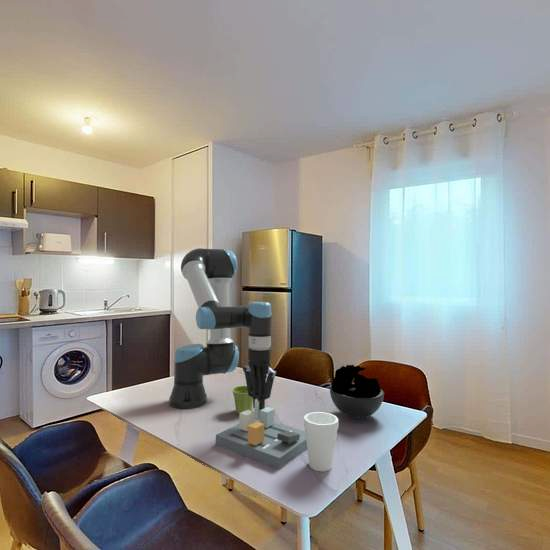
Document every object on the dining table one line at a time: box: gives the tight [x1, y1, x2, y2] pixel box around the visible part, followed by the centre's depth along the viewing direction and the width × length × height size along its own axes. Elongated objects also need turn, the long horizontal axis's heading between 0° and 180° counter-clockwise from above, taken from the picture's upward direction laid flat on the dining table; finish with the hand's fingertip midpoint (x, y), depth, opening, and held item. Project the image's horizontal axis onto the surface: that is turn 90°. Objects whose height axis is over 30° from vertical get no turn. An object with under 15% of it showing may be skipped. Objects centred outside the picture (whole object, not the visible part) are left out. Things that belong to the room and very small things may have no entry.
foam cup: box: [303, 411, 339, 472], centre depth 99 cm, size 10×9×13 cm
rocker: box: [277, 431, 300, 443], centre depth 106 cm, size 4×6×2 cm, turn 145°
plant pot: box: [231, 385, 253, 414], centre depth 139 cm, size 9×9×9 cm
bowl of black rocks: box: [329, 364, 385, 419], centre depth 135 cm, size 20×20×19 cm
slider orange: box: [248, 422, 264, 446], centre depth 105 cm, size 3×4×5 cm
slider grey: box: [260, 406, 275, 428], centre depth 118 cm, size 3×4×5 cm
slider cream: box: [238, 410, 255, 431], centre depth 115 cm, size 3×4×5 cm
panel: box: [215, 419, 307, 470], centre depth 111 cm, size 24×19×4 cm
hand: (258, 418), depth 120 cm, fingers closed
